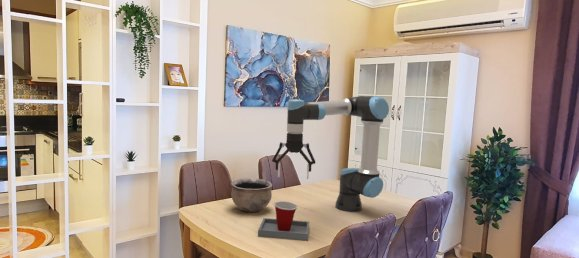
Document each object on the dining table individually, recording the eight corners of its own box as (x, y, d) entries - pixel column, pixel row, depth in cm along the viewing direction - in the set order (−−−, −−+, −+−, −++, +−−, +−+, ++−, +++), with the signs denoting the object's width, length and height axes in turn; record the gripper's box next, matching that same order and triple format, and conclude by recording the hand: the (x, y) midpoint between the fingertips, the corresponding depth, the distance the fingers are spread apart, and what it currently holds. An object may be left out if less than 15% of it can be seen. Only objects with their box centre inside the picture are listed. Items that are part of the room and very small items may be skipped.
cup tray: (308, 227, 173) (309, 221, 173) (307, 240, 157) (308, 233, 157) (263, 224, 175) (263, 217, 174) (257, 236, 159) (258, 229, 158)
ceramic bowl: (275, 206, 203) (277, 180, 202) (264, 218, 182) (265, 189, 181) (238, 202, 208) (239, 176, 207) (223, 213, 187) (224, 185, 186)
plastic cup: (293, 235, 159) (295, 209, 158) (270, 232, 162) (271, 206, 161) (298, 227, 170) (299, 202, 169) (275, 224, 172) (277, 199, 171)
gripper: (321, 133, 170) (319, 177, 173) (269, 130, 172) (267, 174, 174) (321, 134, 163) (319, 180, 165) (267, 132, 165) (265, 178, 167)
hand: (293, 177), depth 170 cm, fingers open, 13 cm apart
